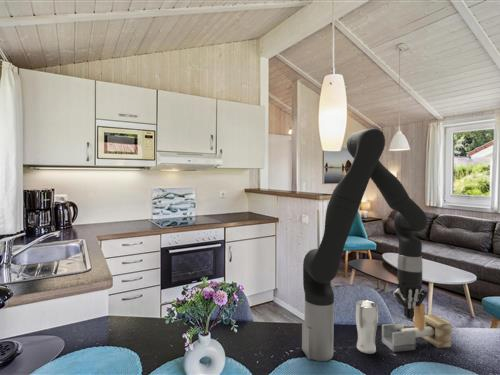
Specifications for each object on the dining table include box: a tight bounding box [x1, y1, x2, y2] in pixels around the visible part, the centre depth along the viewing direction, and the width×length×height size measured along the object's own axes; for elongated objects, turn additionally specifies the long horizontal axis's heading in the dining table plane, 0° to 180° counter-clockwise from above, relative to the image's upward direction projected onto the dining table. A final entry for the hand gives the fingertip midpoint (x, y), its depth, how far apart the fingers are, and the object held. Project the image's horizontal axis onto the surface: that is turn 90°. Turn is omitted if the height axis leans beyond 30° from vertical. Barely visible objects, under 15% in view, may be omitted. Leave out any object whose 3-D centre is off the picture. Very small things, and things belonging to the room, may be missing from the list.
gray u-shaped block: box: [381, 322, 417, 353], centre depth 99 cm, size 8×6×6 cm
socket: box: [421, 313, 452, 349], centre depth 102 cm, size 5×7×8 cm
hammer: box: [401, 302, 435, 338], centre depth 101 cm, size 12×3×12 cm, turn 100°
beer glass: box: [355, 299, 379, 355], centre depth 97 cm, size 7×7×15 cm
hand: (409, 318), depth 100 cm, fingers closed
